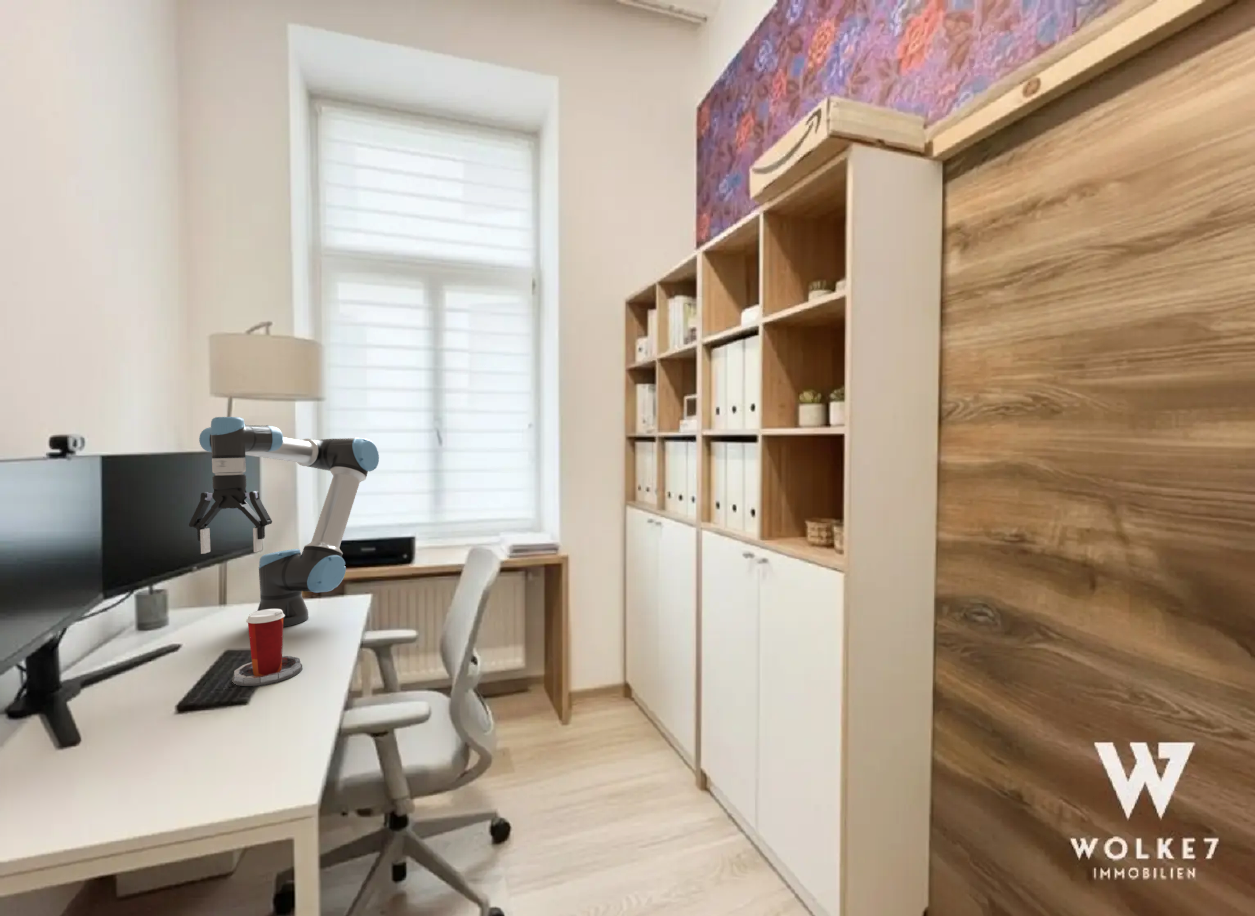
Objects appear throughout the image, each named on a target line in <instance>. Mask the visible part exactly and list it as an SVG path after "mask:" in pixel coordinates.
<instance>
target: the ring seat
mask: <svg viewBox="0 0 1255 916" xmlns="http://www.w3.org/2000/svg"><path fill="white" fill-rule="evenodd" d="M302 671H303V664H302V663H301V660H300V658H299V657H297V656H296V657H295V656H291V655H286V656H285V655H284V656H283V655H282V667H281V671H280V672H277V673H273V674H268V675H263V676H254V674H253V667H252V661H251V662H248V663H245V664H243V665H241V666H239V667H238V668H236V669H234V673H233V676H232V678H231V683H232V682H233V683H234V684H237V685H241V686H253V687H252V688H254V687H255V688H256V687H257V688H258V687H263V686H268V685H273V684H278V683H280V682H284V681H287V680H289V679H291V678H293V677H295V676H297V675H298V674H300V673H301V672H302ZM233 683H232V684H233ZM234 684H233V685H234Z"/></svg>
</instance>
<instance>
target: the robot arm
mask: <svg viewBox="0 0 1255 916" xmlns="http://www.w3.org/2000/svg"><path fill="white" fill-rule="evenodd" d="M198 440H199V442H198V443H199V445H200V447H201V448H202V449H203V450H204V451H206V452H208V453H211V466H212V469H211V470H212V471H211V472H212V473H213V474H214V475H213V476H212V488H213V492H210V491H204V492H201V494H200V496H199V497H200V499H199V503H198V504H197V506H196V509H195V510H194V512H193V515H192V517H191V518H190V521H189V523H188V526H189V527H190V528H195V529H196V530H197V532H196V534H197V535H196V536H197V541H198V542H200V554H201V555H202V554H207V553H210V552H211V536H210V535H211V530H210V529H211V528H210V527H208V525H209V524H210V523H211V522H212V521H213V520H214V518H215V517H216V516H217V515H218V514H219V512H220V511H221V510H225V509H237V510H239V511H241V512H242V513H243V514H244V515H245V516H246V518H247V519H248V520H249V521H250V522H251V523H252V525H254V527H253V528H252V533H253V535H252V541H253V553H258V552H261V551H263V539H265V537H266V529H265V528H266V526H268V525H271V524H272V523H273V520H272V518H271V516H270V514H269V513H268V511H267V509H266V507H265V505H264V504H263V502H262V501H261V499H260V498H261V497H260V492H259V490H253V491H249V492H248V491H247V490H246V488H247V475H246V474H244V473H246V472H247V465H246V463H247V462H246V456H250V457H258V458H265V459H270V460H271V459H273V460H279V461H287V462H292V463H297V464H298V465H300V466H302V467H308V468H314V469H317V470H324V471H329V472H330V473H331V474H332V479H331V482H330V485H329V489H328V490H327V494H326V497H325V499H324V503H323V506H322V509H321V511H320V514H319V516H318V520H317V524H316V527H315V530H314V533H313V536H312V539H311V541H310V543H307V544H305V545H304V546H303V548H302V551H301V550H300V549H299V548H293V549H286V550H280V551H274V552H269V553H265V554H263V555H262V556H260V558H259V563H258V565H259V566H258V574H259V575H258V578H259V579H258V581H259V593H260V594H259V595H260V596H259V597H260V600H259V604H258V607H257V611H260V610H266V609H281V610H282V611H283V614H284V615H285V616H284V617H283V628H284V627H289V626H294V625H298V624H300V623H303V622H306V621H307V620H308V619H309V610H308V607H307V605H306V603H305V599H304V598H303V595H302V594H303V592H310V593H311V592H313V593H315V594H316V593H317V594H318V593H327V592H331V591H333V590H334V589H336V588H338V587H339V585H340V584H341V583H342V582H343V580H344V578H345V575H346V573H347V572H346V571H347V567H346V566H345V565H346V561H345V559H344V558H343V554H344V553H343V551H342V550H341V549H340V547H341V543H342V540H343V537H344V534H345V532H346V531H345V530H346V528H347V524H348V522H349V519H350V515H351V512H352V508H353V505H354V502H355V499H356V496H357V492H358V489H359V486H360V483H361V482H364V481H365V480H366V479H367V476H368V473H369V472H370V473H371V472H373V471H374V470H376V469H377V467H378V466H379V461H380V455H379V451H378V448H377V446H376V443H374V442H373V441H372V440H371V439H368V438H365V437H363V438H362V437H354V438H351V437H350V438H345V437H344V438H324V439H323V438H322V439H314V438H313V439H312V438H303V439H301V440H300V439H297V438H289V437H286V436H285V437H284V435H283V432H282V430H281V429H280V428H279V427H276V426H274V425H268V424H267V425H257V424H255V425H251V424H250V425H249V424H247V425H246V424H245V419H244V418H243V417H239V416H215V417H213V418H212V419H211V421H210V427H209V426H208V427H205V428H204V429H203V430H202V431H201V433H200V434H199V439H198ZM246 499H248V500H249V501H250V504H251V505H252V506H253V509H254V510H253V509H252V507H251V506H250V504H249V503H248V502H247V501H246ZM212 500H214V503H213V504H212V505H211V506H210V509H209V510H208V508H209V505H210V503H211V501H212ZM207 510H208V511H207ZM205 513H206V514H205Z"/></svg>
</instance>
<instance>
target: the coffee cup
mask: <svg viewBox="0 0 1255 916" xmlns="http://www.w3.org/2000/svg"><path fill="white" fill-rule="evenodd" d="M284 616H285V615H284V614H283V611H282V610H281V609H266V610H260V611H256V610H255V611H253V612H250V614H249V615H248V616H247V619H246V620H245V622H246V623H247V628H248V637H249V648H250V656H251V657H250V658H251V662H252V667H253V674H254V676H263V675H268V674H273V673H277V672H280V671H281V667H282V656H283V643H284V641H283V639H284V627H283V617H284Z"/></svg>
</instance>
